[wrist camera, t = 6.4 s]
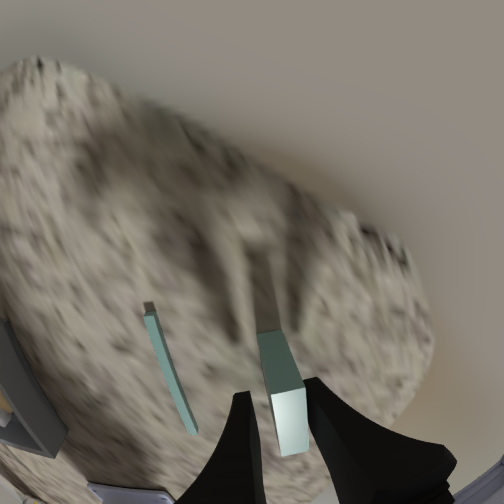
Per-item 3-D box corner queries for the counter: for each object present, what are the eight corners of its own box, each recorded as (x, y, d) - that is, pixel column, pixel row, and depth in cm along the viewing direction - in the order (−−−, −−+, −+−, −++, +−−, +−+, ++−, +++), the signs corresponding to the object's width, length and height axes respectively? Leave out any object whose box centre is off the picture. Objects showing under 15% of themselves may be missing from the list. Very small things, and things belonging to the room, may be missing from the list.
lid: (298, 414, 15) (319, 475, 10) (110, 431, 15) (92, 485, 10) (282, 268, 13) (315, 314, 8) (49, 305, 12) (-3, 348, 8)
